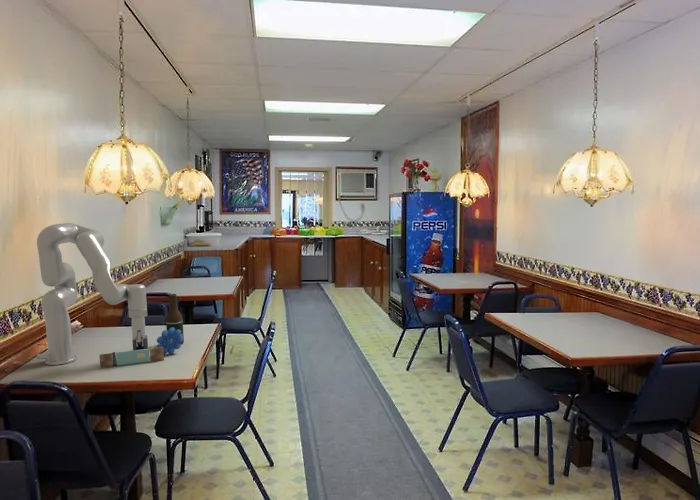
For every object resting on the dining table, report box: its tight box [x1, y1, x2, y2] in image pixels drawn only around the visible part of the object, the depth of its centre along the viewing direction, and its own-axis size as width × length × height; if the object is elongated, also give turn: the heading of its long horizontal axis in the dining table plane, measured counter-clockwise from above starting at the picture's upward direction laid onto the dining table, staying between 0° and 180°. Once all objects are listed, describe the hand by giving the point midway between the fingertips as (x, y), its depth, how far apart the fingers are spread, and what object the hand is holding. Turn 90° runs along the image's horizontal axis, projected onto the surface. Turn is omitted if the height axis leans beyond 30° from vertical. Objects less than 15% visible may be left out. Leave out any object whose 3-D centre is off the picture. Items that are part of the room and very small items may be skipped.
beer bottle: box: [165, 293, 185, 345], centre depth 258 cm, size 8×8×24 cm
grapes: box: [156, 327, 183, 355], centre depth 242 cm, size 12×7×12 cm, turn 116°
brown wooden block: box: [99, 347, 165, 369], centre depth 229 cm, size 25×1×6 cm, turn 110°
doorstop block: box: [131, 334, 149, 351], centre depth 238 cm, size 6×5×9 cm
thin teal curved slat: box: [115, 348, 151, 367], centre depth 229 cm, size 13×1×5 cm, turn 110°
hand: (140, 353), depth 238 cm, fingers closed on doorstop block, 5 cm apart
